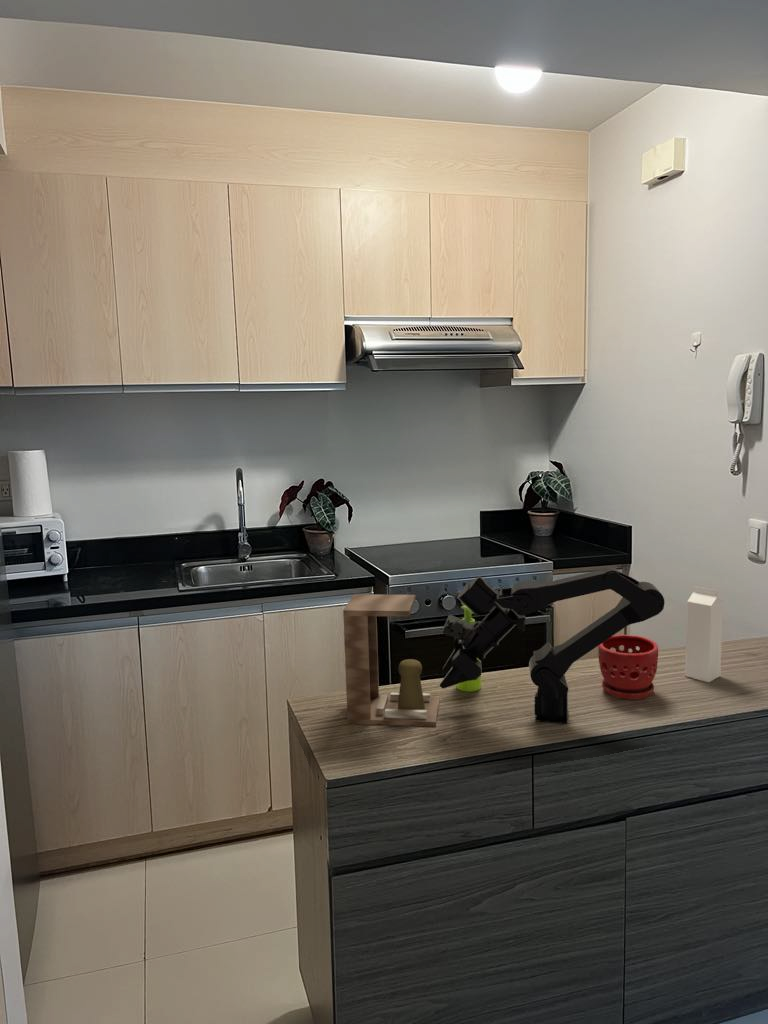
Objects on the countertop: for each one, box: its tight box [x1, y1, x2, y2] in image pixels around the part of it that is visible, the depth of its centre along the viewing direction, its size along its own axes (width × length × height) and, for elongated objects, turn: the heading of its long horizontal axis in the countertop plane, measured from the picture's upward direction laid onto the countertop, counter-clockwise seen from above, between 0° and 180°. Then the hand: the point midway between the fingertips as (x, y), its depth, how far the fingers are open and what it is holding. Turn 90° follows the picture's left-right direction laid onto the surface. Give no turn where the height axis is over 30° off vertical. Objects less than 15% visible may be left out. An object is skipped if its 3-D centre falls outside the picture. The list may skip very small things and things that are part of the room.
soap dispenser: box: [455, 605, 482, 692], centre depth 180 cm, size 6×7×20 cm
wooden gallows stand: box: [342, 593, 441, 727], centre depth 166 cm, size 19×13×25 cm
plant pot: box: [597, 634, 659, 700], centre depth 174 cm, size 13×13×12 cm
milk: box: [684, 585, 724, 683], centre depth 182 cm, size 6×6×22 cm
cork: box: [397, 658, 425, 710], centre depth 167 cm, size 6×6×11 cm
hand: (442, 678), depth 165 cm, fingers open, 9 cm apart
